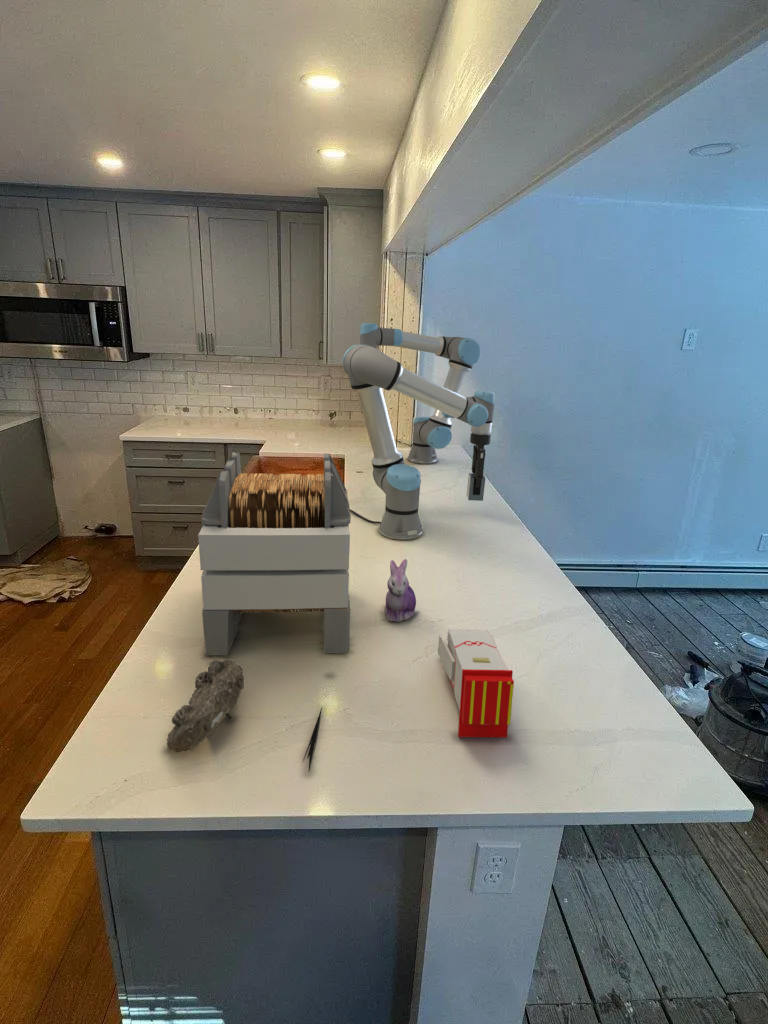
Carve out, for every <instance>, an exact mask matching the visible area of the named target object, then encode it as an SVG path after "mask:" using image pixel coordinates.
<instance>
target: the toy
mask: <svg viewBox="0 0 768 1024" xmlns="http://www.w3.org/2000/svg"><path fill="white" fill-rule="evenodd" d="M446 640H447V643H446V641H445V639H444V636H443V635H442V634H439V637H438V646H437V656H438V657H439V659H440V661H441V663H442V666H443V668H444V670H445V672H446V674H447V677H448V679H449V681H450V684H451V687H452V690H453V693H454V697H455V701H456V705H457V708H458V711H459V714H458V715H459V716H458V730H457V731H458V732H457V737H458V738H508V731H509V726H510V725H511V717H512V707H513V697H514V696H513V695H514V684H515V680H514V679H513V673H514V671H513V670H512V669H508V667H507V665H506V662H505V661H504V659H503V658H502V655H501V653H500V651H499V649H498V647H497V643H496V639H495V637H494V635H493V634H491V632H490V631H489V629H467V628H466V629H465V628H463V629H461V628H460V629H459V628H448V630H447V639H446Z"/></svg>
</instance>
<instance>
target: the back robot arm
mask: <svg viewBox="0 0 768 1024" xmlns="http://www.w3.org/2000/svg"><path fill="white" fill-rule="evenodd" d="M359 344H366V345H369V346H370V347H374V348H377V346H378V347H379V346H383V347H385V346H386V347H395V348H401V349H402V348H403V349H408V350H413V351H419V352H425V353H429V354H430V353H431V354H434V356H436V357H442V358H444V359H447V360H448V365H449V369H448V372H447V375H446V378H445V381H444V383H443V387H444V388H447V389H449V390H451V391H453V392H455V393H457V394H459V395H461V392H462V388H463V385H464V383H465V379H466V377H467V374H468V373H469V372H471V371H472V369H473V366H474V365H475V364H476V363H478V362H479V360H480V359H481V357H482V356H481V355H482V348H481V346H480V344H479V342H478V341H477V340H475V339H473V338H470V337H462V336H443V335H438V336H431V335H425V334H420V333H414V332H409V331H403V330H402V329H400V328H395V327H394V328H391V327H381V326H378V324H377V323H374V322H372V323H371V322H362V323H361V324H360V329H359ZM433 413H434V414H433V415H431V416H417V417H414V419H413V426H412V427H413V428H412V443H411V444H412V445H410V446H411V448H410V451H409V453H408V456H407V461H408V462H410V463H413V464H418V465H432V464H436V463H438V455H437V450H441V449H444V448H446V447H447V446H448V445H450V443H451V441H452V439H453V438H452V437H453V434H452V431H451V429H452V426H453V423H452V421H451V420H452V418H446V417H444V416H443V414H442V411H439V410H437V409H434V412H433ZM436 449H437V450H436Z"/></svg>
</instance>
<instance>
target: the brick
mask: <svg viewBox="0 0 768 1024" xmlns="http://www.w3.org/2000/svg"><path fill="white" fill-rule="evenodd" d="M473 477H475V474H473V473H472V472H469V473H468V476H467V485H466V486H467V487H466V498H467V500H468V501H479V502H484V496H485V485H486V476H485V474H484V473H483V479H482V480H481V490H480V495H473V485H474V479H473Z"/></svg>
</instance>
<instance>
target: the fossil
mask: <svg viewBox="0 0 768 1024" xmlns="http://www.w3.org/2000/svg"><path fill="white" fill-rule="evenodd" d="M243 670H244V669H243V667H242V665H240V664H237V662H236V661H235V660H234V659H232V658H231V659H227V658H226V659H224V660H223V661H222V660H217V659H212V660H211V661H210V663H209V665H208V666H207V671H201V672H199V673H198V674H197V675H196V676H195V680H194V684H195V685H194V687H195V689H194V690H193V693H192V694H191V697H190V698H189V700H188V704H184V705H182V706H181V707H180V709H177V710H176V711H175V713H174V715H173V716H172V718H171V723H172V724H173V727H172V730H171V731H170V732H168V734H167V738H166V741H167V742H166V745H167V749H168V750H169V751H173V752H174V753H176V754H178V753H182V752H188V751H189V752H192V751H193V750H195V748H196V747H197V746H199V744H200V743H201V742H203V741H204V740H205V739H206V738H207V737H208V736H209V735H210V734H211V733H212V732H214V730H215V729H217V727H218V726H219V724H220V722H221V721H222V720H223V719H224V718H225V716H226V717H227V719H229V720H233V717H232V715H230V714H229V710H230V709H231V708H234V706H235V704H236V703H237V702H238V699H239V697H240V695H241V693H242V691H243V690H245V689H244V688H245V675H244V671H243Z"/></svg>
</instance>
